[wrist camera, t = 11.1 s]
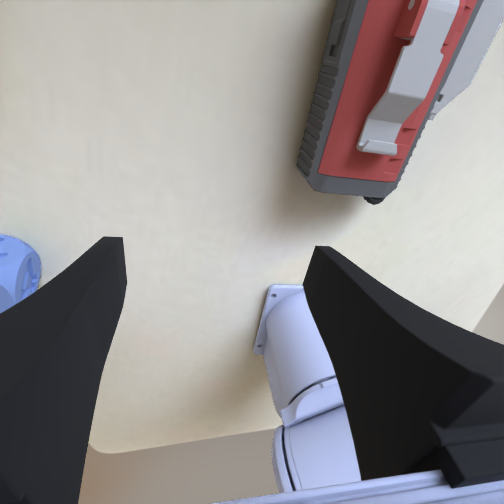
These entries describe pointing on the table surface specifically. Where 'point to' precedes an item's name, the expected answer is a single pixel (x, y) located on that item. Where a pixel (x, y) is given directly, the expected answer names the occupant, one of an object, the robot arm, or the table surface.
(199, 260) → the table surface
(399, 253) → the table surface
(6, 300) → the decorative dice
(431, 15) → the walkie-talkie
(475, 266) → the table surface
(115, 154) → the table surface
